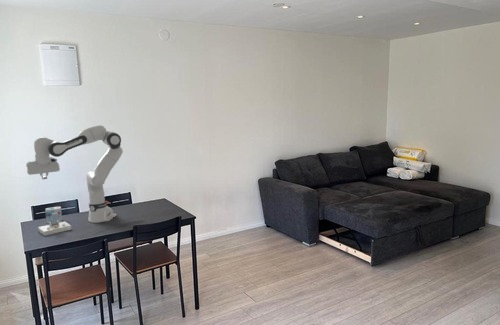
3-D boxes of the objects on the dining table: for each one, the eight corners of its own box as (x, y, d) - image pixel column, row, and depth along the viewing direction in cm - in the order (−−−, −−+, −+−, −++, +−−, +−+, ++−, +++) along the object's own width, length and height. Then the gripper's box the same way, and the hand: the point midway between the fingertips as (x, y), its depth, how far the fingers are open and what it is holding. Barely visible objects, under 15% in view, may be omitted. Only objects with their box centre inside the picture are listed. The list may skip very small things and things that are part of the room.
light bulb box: (46, 223, 275) (45, 210, 274) (46, 221, 281) (45, 208, 279) (62, 221, 281) (61, 208, 279) (61, 219, 287) (60, 206, 285)
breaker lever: (51, 224, 262) (51, 212, 257) (55, 223, 264) (56, 211, 259) (52, 226, 260) (52, 214, 256) (57, 225, 262) (57, 213, 258)
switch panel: (38, 231, 260) (37, 222, 259) (65, 225, 272) (64, 217, 271) (44, 235, 251) (43, 227, 250) (71, 229, 263) (70, 221, 262)
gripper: (27, 162, 247) (29, 182, 250) (59, 159, 262) (61, 177, 264) (24, 161, 252) (27, 180, 254) (56, 158, 266) (58, 176, 268)
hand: (44, 179), depth 259 cm, fingers closed
